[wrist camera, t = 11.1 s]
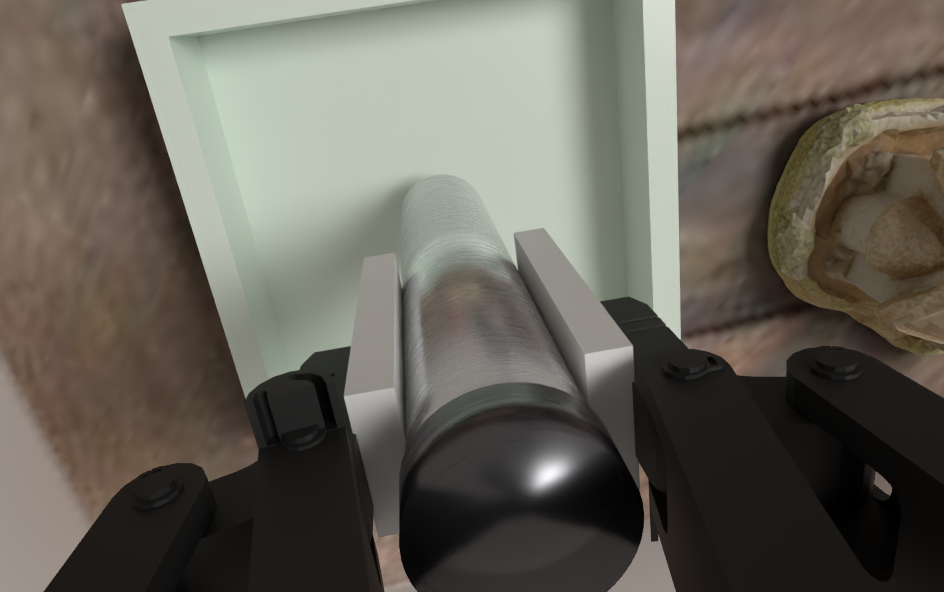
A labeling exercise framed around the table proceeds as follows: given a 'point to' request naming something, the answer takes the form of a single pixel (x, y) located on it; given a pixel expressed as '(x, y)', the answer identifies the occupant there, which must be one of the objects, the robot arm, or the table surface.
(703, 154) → the table surface
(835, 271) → the ceramic model
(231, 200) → the tray
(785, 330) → the table surface
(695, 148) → the table surface
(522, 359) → the pin
